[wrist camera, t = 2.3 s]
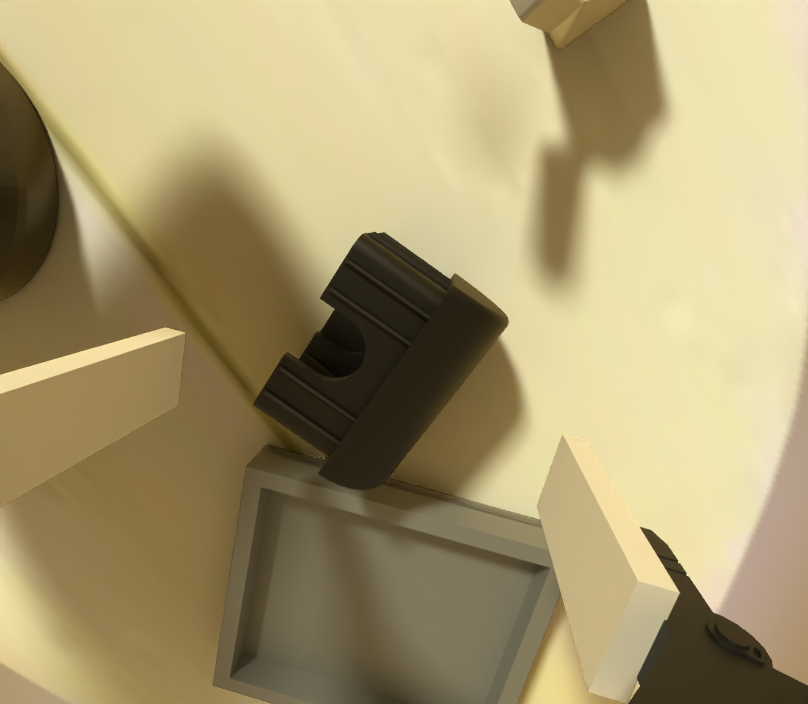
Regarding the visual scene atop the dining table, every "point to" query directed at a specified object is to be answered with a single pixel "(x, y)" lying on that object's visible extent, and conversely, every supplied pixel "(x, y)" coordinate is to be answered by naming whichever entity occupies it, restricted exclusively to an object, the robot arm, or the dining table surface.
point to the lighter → (564, 16)
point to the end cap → (381, 360)
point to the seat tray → (378, 593)
